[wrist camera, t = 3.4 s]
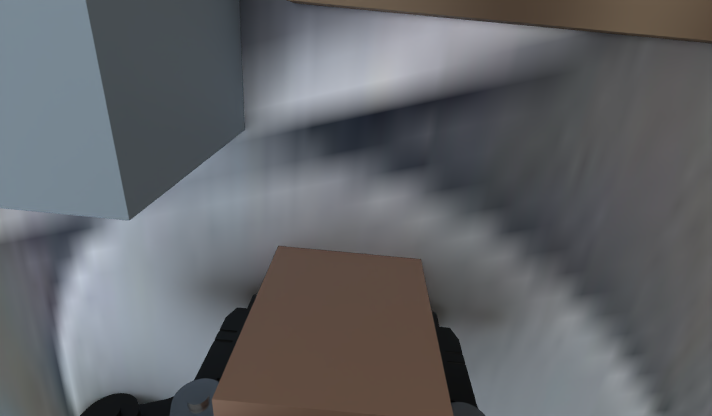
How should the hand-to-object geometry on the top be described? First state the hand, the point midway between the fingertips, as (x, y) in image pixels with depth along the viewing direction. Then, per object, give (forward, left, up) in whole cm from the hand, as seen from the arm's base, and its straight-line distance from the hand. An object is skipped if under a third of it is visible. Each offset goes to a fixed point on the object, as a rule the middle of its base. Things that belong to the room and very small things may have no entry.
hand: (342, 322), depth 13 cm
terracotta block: (0, 0, -1) cm, 1 cm away
